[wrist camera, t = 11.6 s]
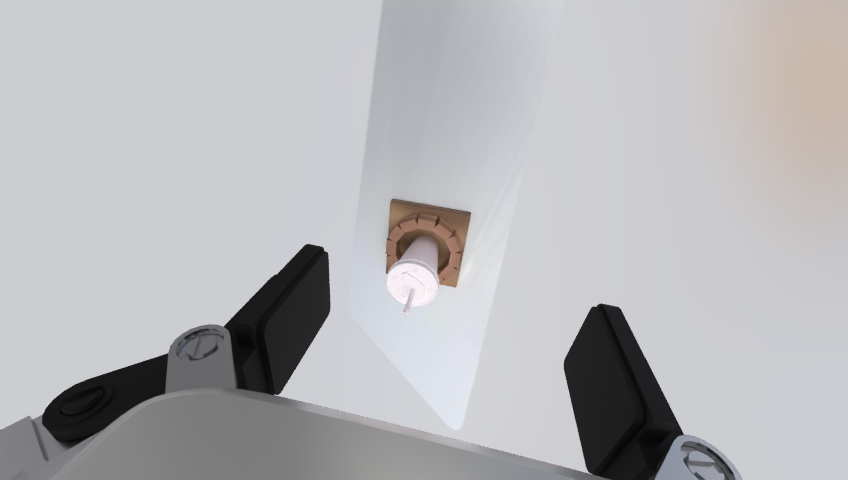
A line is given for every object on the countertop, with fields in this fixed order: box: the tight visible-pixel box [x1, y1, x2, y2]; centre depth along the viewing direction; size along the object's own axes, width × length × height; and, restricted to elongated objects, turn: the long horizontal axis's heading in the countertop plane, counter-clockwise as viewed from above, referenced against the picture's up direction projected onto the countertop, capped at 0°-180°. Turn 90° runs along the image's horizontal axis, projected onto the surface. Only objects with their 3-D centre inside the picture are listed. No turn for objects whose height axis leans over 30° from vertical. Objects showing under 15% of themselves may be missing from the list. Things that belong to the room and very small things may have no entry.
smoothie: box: [386, 235, 439, 316], centre depth 41 cm, size 6×6×14 cm
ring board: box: [386, 199, 471, 287], centre depth 47 cm, size 12×11×3 cm
